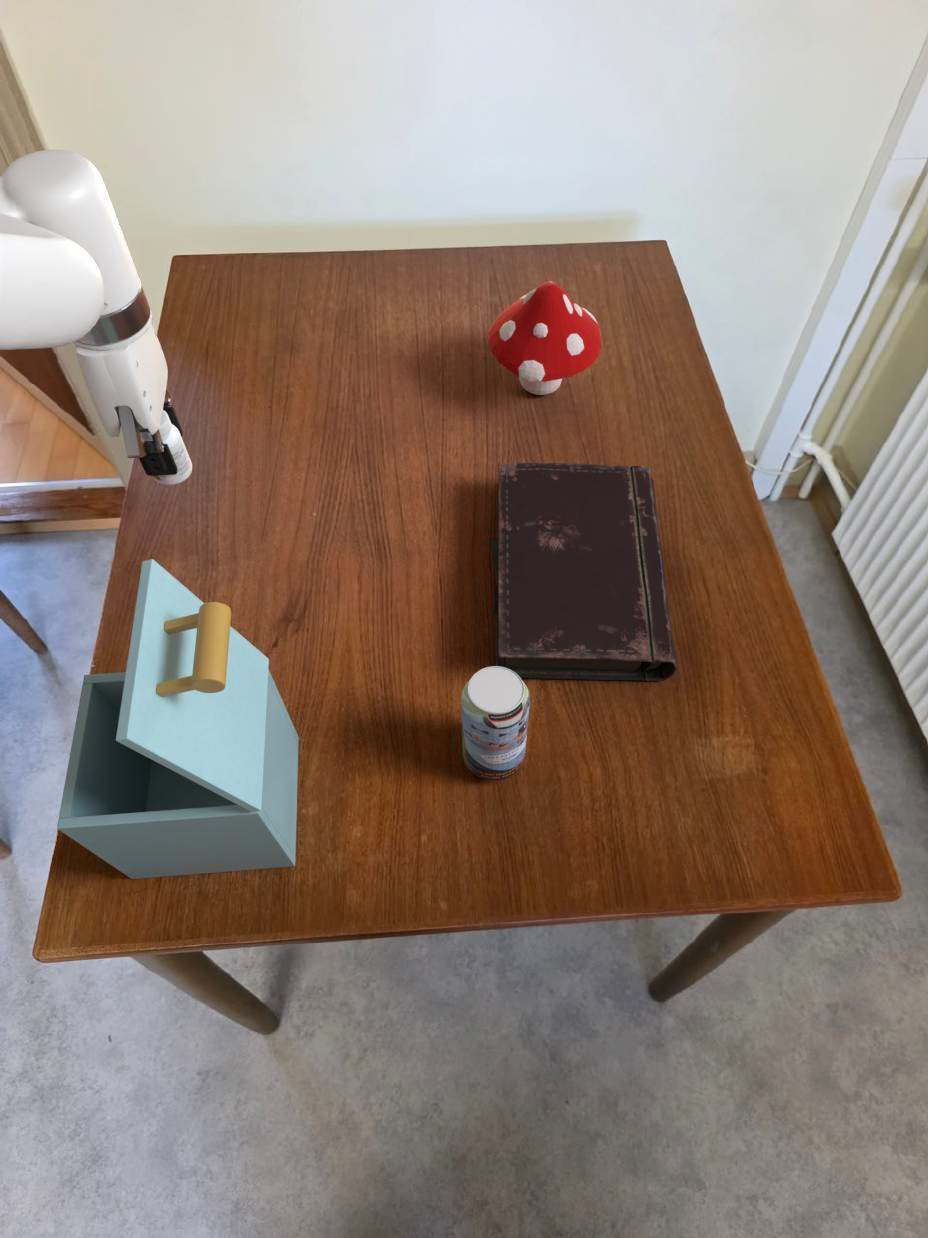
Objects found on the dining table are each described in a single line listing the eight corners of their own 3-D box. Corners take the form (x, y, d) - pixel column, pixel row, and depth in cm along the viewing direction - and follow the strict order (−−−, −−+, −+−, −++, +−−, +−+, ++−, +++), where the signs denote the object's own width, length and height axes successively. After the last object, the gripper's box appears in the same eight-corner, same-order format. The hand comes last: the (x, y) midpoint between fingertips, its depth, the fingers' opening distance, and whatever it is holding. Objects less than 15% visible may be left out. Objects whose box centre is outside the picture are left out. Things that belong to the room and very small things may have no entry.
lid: (115, 741, 47) (196, 723, 46) (142, 561, 53) (213, 541, 52) (251, 812, 60) (317, 800, 58) (260, 660, 66) (320, 647, 65)
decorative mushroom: (564, 336, 109) (577, 234, 97) (615, 404, 103) (637, 304, 90) (469, 366, 106) (470, 265, 94) (515, 438, 100) (524, 339, 87)
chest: (131, 879, 73) (56, 828, 59) (148, 747, 79) (83, 674, 66) (295, 866, 73) (258, 813, 60) (298, 737, 80) (265, 662, 66)
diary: (647, 492, 96) (656, 463, 91) (670, 683, 83) (682, 660, 79) (489, 489, 96) (491, 460, 92) (488, 679, 83) (490, 656, 79)
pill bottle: (150, 461, 89) (126, 408, 83) (190, 452, 90) (170, 399, 83) (154, 490, 87) (130, 438, 80) (195, 481, 88) (175, 429, 81)
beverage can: (471, 793, 77) (473, 745, 67) (451, 723, 81) (450, 668, 70) (534, 776, 78) (546, 726, 68) (512, 708, 81) (519, 651, 71)
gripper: (76, 251, 75) (140, 400, 91) (40, 377, 66) (118, 518, 82) (158, 248, 75) (208, 397, 91) (134, 373, 67) (193, 514, 82)
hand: (165, 453), depth 86 cm, fingers closed on pill bottle, 4 cm apart
